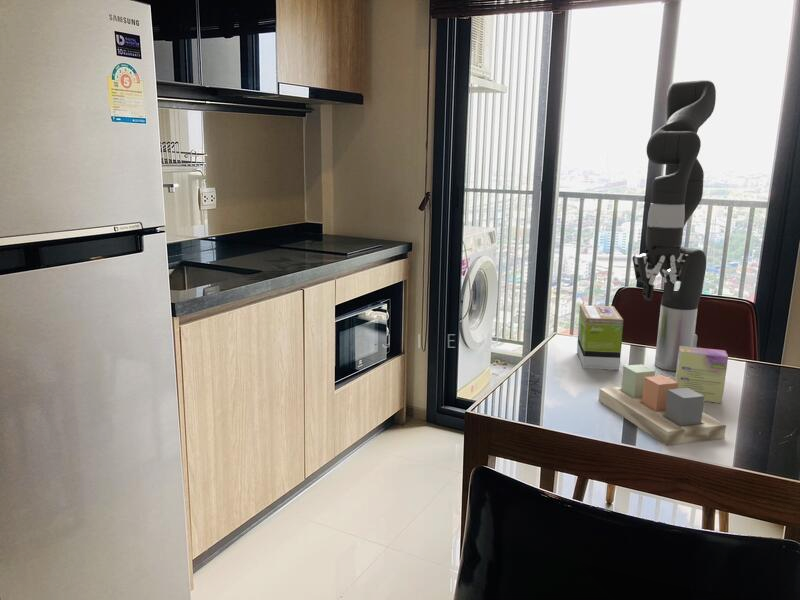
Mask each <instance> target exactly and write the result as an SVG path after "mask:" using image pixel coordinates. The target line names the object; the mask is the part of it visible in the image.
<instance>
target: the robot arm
mask: <svg viewBox="0 0 800 600" xmlns="http://www.w3.org/2000/svg"><path fill="white" fill-rule="evenodd" d="M716 90H717V89H716V85H715V84H714V82H713V81H712V80H707V79H706V80H704V79H702V80H690V81H689V80H688V81H677V82H673V83H671V84H670V85H669V86H668V88H667V92H666V93H667V95H666V123H665V124H664V125H663V126H661V127H659V128H658V129H656V130H655V131H654V132H653V133H652V134H651V136H650V137H649V138H648V141H647V145H646V157H647V159H649V161H650V162H651V163H653V164H656V165H665V171H664V172H665V174H664V175H661V176H656V177H654V179H653V181H652V186H651V193H650V194H651V196H650V205H649V209H648V215H647V225H646V233H645V244H646V247H645V250H644V252H643V253H641V254H639V255H636V254H635V255H633V256H632V263H633V270H634V275H635V279H636V281H638V282H642V284H643V287H642V297H643V299H644V300H645V301H648V302H651V301H653V298H654V289H655V285H654V282H655V280H656V277H657V276H658V275H659V274H660V276H661V277H662V278H664V280H665V281H664V283H663V291H662V296H661V300H660V309H659V311H660V312H659V320H658V327H657V328H658V329H657V336H656V338H657V340H656V348H655V355H654V356H655V358H654V366H655V367H656V368H657V367H658V368H660V369H662V370H666V371H669V372H670V371H671V372H676V369H677V361H678V353H679V346H687V347H697V343H698V335H697V334H696V325H697V316H698V308H699V303H700V299H701V297H702V292H703V289H704V288H703V287H704V282H705V281H704V280H705V276H706V269H707V256H706V254H705V252H704V251H703V250H702V249H699V248H693V247H687V246H682V244H683V236H684V235H683V233H684V227H685V226H686V224H687V222H688V221H689V219H690V218H691V216H692V215H693V214H694V212H695V211H696V209H697V208H698V206H699V205H700V203H701V201H702V199H703V194H704V181H705V180H704V178H705V173H704V172H705V171H704V169H703V167H702V165H701V162H700V161H699V159H698V155H699V154H700V151H701V147H702V146H701V145H702V144H701V143H702V142H701V139H700V136H699V134H698V131H699V129H700V127H702V125H704V124H705V123H706V122H707V120H708V119H709V118H710V117H711V116H712V114H713V112H714V110H715V106H716V97H717V96H716V95H717V94H716V93H717V91H716ZM677 282H680V285H679V288H678V290H675V284H676V283H677Z"/></svg>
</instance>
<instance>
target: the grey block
mask: <svg viewBox="0 0 800 600" xmlns="http://www.w3.org/2000/svg"><path fill="white" fill-rule="evenodd" d="M704 402H705V401H704V396H703V395H701V394H699V393H697V392H695V391H693V390H691V389H689V388H680V389H670V390H668V393H667V402H666V411H665V418H666V419H668V420H670V421H671V422H673V423H675V424H676V425H678V426H680V427H683V426H692V425H700V424H701V419H702V412H703V409H704Z"/></svg>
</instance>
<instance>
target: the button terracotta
mask: <svg viewBox="0 0 800 600" xmlns="http://www.w3.org/2000/svg"><path fill="white" fill-rule="evenodd" d="M678 384H679V383H678V382H676V381H675V379H672V378H670V377H668V376H666V375H655V376H651V377H644V387H643V396H642V404H643V405H645V406H646V407H648V408H650V409H651V410H653V411H655V412H660V411H666V402H667V393H668V390H670V389H678Z"/></svg>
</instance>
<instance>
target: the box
mask: <svg viewBox="0 0 800 600" xmlns="http://www.w3.org/2000/svg"><path fill="white" fill-rule="evenodd" d="M728 360H729V355H728V353H727V351H726V350H725V349H724V350H723V349H716V348H715V349H713V348H705V347H704V348H703V347H697V346H696V347H687V346H679V353H678V361H677V369H676V371H675V378H674V381H676V382H678V383H679V384H678V389H680V388H689V389H691V390H693V391H695V392H697V393H699V394H701V395H703V396H704V402H710V403H711V402H712V403H716V404H723V398H724V391H725V390H724V389H725V383H726V375H727V367H728Z"/></svg>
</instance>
